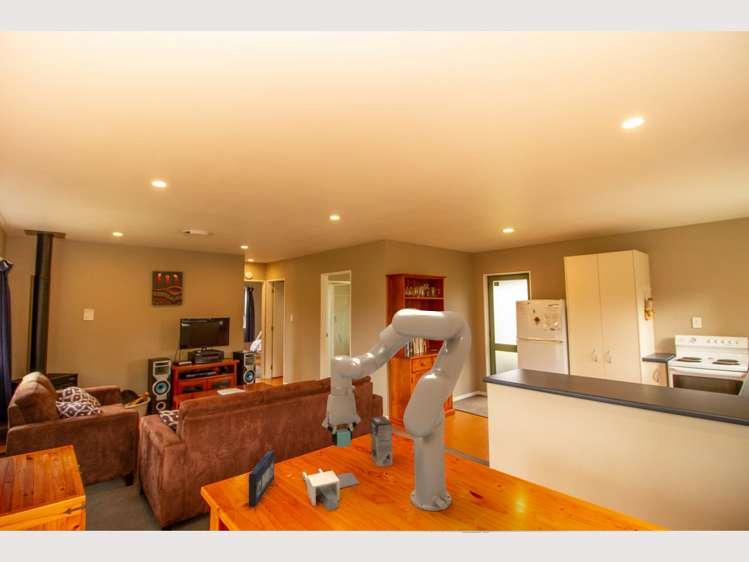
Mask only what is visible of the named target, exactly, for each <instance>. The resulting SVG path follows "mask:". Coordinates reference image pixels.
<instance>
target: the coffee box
mask: <svg viewBox="0 0 749 562" xmlns="http://www.w3.org/2000/svg"><path fill="white" fill-rule="evenodd" d="M369 420H370V425H369V426H370V447H371V448H370V453H371V454H370V455H371V459H372V460H373V462H374V463H375V465H376V466H377V467H379V468H380V466H381V467H387V465H388V466H392V464H394V463H393V462H394V461H393V423H392V421H390V420H389V419H388V418H387V417H386V416H385V415H383V416H373V417H370V418H369Z"/></svg>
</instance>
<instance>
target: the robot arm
mask: <svg viewBox="0 0 749 562" xmlns="http://www.w3.org/2000/svg"><path fill="white" fill-rule="evenodd" d="M414 338H415V339H424V340H433V341H443V343H442V346H441V348H440V349H439V351H438V354H437V356H436V358H435V361H434V362H433V365H432V367H431V368H430V369H429V371H427V372H425V373H423V374H422V376H421V377H419V379H418V380H417V383H416V385H415V387H414V389H413V392H412V394H411V397H410V398H409V400H408V403H407V404H406V405H407V406H406V408H405V410H404V413H403V419H402V420H403V421H402V422H403V426H404V428H405V430H406V432H407V433H408V434H409V435H410V436H412V437H413V459H414V460H413V462H414V464H413V465H414V490H412V492H411V494H410V502H411V503H412V505H414V506H415V507H416V508H418V509H421V510H424V511H429V512H431V511H434V512H436V511H441V510H442V511H443V510H444V511H445V510H446V509H447V508H448V507H450V505H451V503H452V496H451V494H450V493H449V492H448V490H447V487H446V466H445V465H446V463H445V423H446V421H445V418H446V417H445V415H446V413H445V409H444V405H445V402H446V401H447V399H448V398H449V397H451V395H452V394H453V393H454V391H455V389H456V388H455V387H456V385H457V382H458V380H459V378H460V376H461V374H462V371H463V368H464V365H465V363H466V362H467V358H468V356H469V353H470V350H471V347H472V332H471V328H470V326H469V324H468V322H467V321H466V320H465V318H464V317H462V316H461V314H460V313H457V312H455V311H452V310H444V311H443V310H442V311H431V310H420V309H418V308H414V307H413V308H402V309H400V310H398V311H396V313H394V315H393V317H392V320H391V323H390V324H389V325H388V326H387V327H385V328H384V329H383V330H382V331H380V333H379V335H378V341H377V342H376V344H375V345H374V346H373V347H371V349H369V350H368V351H367V352H366V353H364V354H361V355H357V356H354V357H351V356H350V355H345V354H341V355H333V356H332V357H331V359H330V394H328V397H327V402H326V414H325V415H326V417H325V418H324V420H323V421H322V423H321V426H322V427H324V428H325V429H327V431H329V432H330V433H331V437H330V438H331V443H332V444H333V445H334V446H335V447H337V434H336V430H337V428H338V426H339V425H340V426H341V425H344V424H345V425H346V426H347V428H346V429H347V430H349V431H350V436H351V440H353V432H354V429H355V428H356V426H357V425H358V424H359V423H360V422H361V421H362V418H361V417H360V416H359V414H358V413H357V407H356V399H355V394H354V393H353V391H355V390H356V386H355V385H353V384H352V383H353V381H352V380H361V379H363V378H365V377H367V376H370V375H372V374H374V373H376V372H377V371H378V370H379V369H381V368H382V367H383V366H384V365H385V364H387V363H388V362H389V361H390V360H391V359H392V358H393V357H394V356H396V353H398V352H399V351H400V350H401V349H402V348H404V347H405V346H406V345H407V344H409V343H410V342H411V341H412V340H413V339H414ZM328 423H329V424H328Z"/></svg>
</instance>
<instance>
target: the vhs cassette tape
mask: <svg viewBox="0 0 749 562" xmlns="http://www.w3.org/2000/svg"><path fill="white" fill-rule="evenodd" d="M275 455H276V454H275V450H268V451H267V452H266V453H265V454H264V456H263V457H262V458H261V459H260V460H259V462H258V463H257V464H256V465H255V466H254V467H253V469H252V470H251V472H250V473H249V474H248V504H247V505H248V507H249V508H250V507H252V508H253V507H254V508H256V507H257V506H258V504H259V503H260V502H261V500H262V499H263V497H264V496H263V495H265V494H266V493H265V492H267V491H268V490H269V488H270V487H269V486H271V485H272V483H273V482H274V481H275ZM268 487H269V488H268ZM267 489H268V490H267ZM266 490H267V491H266ZM264 493H265V494H264ZM262 496H263V497H262ZM261 498H262V499H261ZM260 499H261V500H260ZM259 501H260V502H259Z"/></svg>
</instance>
